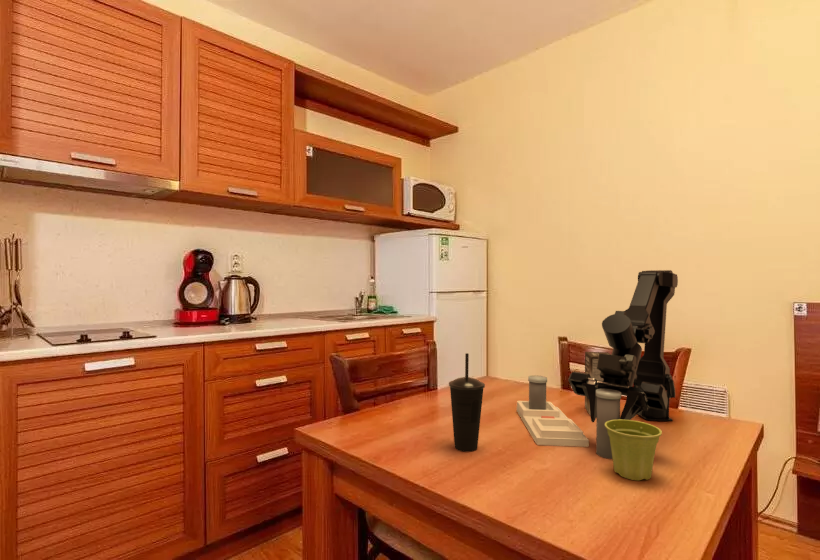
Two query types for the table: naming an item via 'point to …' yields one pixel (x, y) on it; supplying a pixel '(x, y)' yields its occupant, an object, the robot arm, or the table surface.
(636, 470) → the plant pot
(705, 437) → the table surface
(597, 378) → the coffee box
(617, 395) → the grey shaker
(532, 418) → the peg insertion board
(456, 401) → the drinking cup
